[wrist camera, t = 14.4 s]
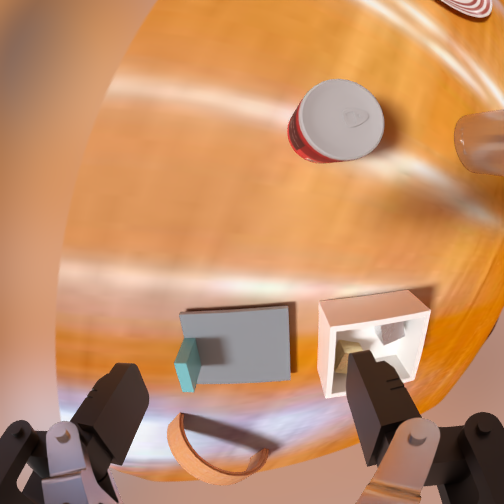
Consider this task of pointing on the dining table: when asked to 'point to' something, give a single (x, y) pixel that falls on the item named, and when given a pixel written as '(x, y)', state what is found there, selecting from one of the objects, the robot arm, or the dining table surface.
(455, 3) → the dinner plate
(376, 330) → the steel part
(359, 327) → the tub
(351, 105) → the canned food
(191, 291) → the dining table surface
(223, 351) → the lid
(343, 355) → the brass part
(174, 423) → the arch
